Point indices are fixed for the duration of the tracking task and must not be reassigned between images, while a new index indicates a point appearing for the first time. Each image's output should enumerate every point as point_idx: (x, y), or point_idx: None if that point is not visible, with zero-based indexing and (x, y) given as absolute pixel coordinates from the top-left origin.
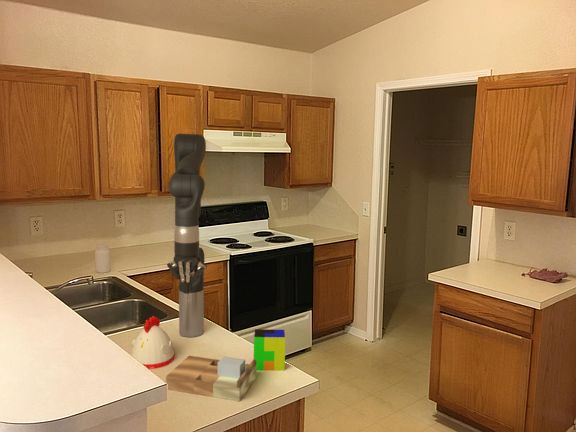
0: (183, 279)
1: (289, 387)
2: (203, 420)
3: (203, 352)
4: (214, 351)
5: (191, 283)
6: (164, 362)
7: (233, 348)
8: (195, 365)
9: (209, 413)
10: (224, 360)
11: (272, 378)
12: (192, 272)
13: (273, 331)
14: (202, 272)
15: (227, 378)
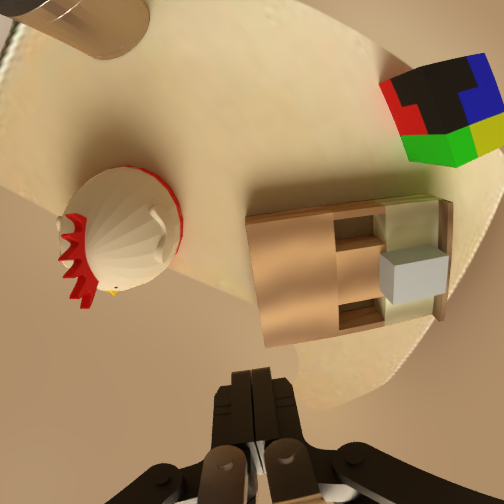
0: (247, 499)
1: (487, 208)
2: (383, 371)
3: (226, 113)
4: (253, 92)
5: (300, 435)
6: (178, 244)
7: (295, 52)
8: (301, 271)
9: (386, 354)
10: (405, 287)
11: (455, 184)
12: None
13: (470, 72)
14: (450, 491)
15: None
